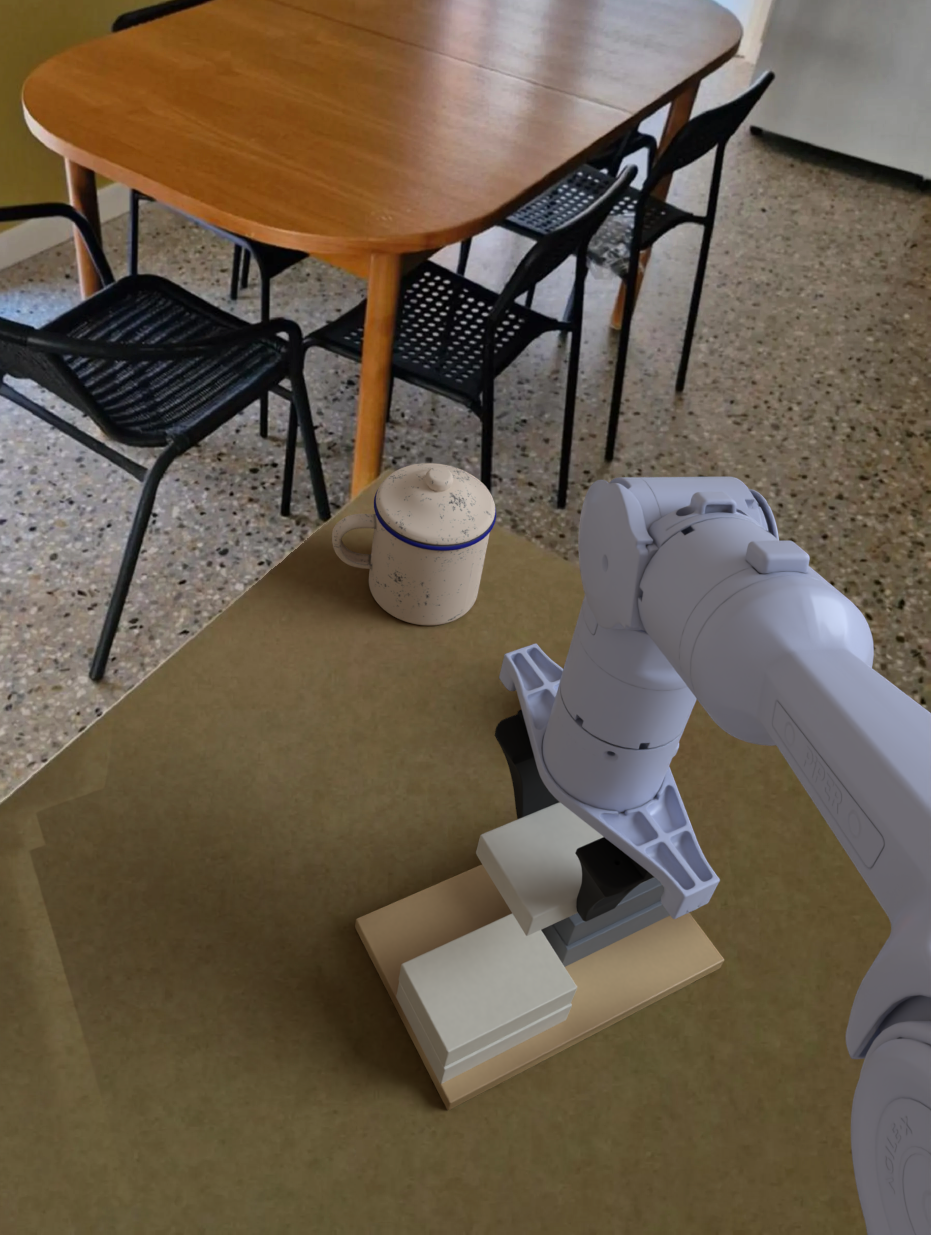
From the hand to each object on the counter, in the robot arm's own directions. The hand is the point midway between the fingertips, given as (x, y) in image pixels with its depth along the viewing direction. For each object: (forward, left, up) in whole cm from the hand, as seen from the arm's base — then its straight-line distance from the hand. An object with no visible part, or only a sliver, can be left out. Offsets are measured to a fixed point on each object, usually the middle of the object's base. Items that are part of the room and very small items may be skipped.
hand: (565, 863), depth 58 cm
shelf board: (+1, -1, -10) cm, 10 cm away
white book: (0, 0, 0) cm, 0 cm away
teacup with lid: (+29, -7, -11) cm, 32 cm away
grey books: (+1, -5, -9) cm, 11 cm away
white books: (-2, +5, -9) cm, 10 cm away
